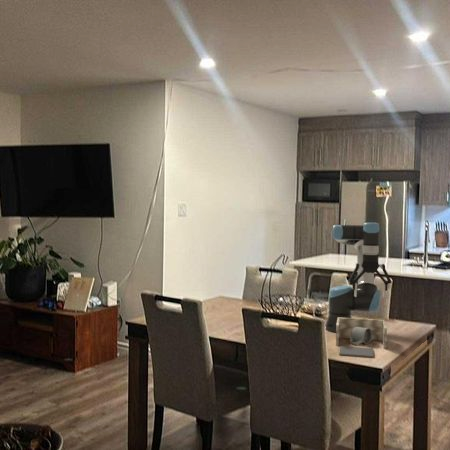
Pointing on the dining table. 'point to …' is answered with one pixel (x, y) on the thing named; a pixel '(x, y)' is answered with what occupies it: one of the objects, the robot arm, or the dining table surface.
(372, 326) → the open box
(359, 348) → the rubber mat
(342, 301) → the robot arm
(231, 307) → the dining table surface
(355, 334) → the ceramic mug
